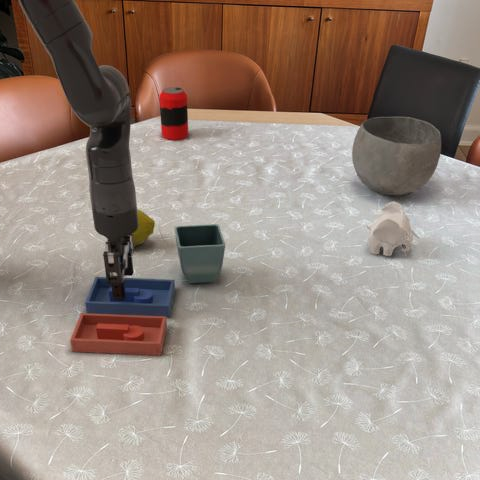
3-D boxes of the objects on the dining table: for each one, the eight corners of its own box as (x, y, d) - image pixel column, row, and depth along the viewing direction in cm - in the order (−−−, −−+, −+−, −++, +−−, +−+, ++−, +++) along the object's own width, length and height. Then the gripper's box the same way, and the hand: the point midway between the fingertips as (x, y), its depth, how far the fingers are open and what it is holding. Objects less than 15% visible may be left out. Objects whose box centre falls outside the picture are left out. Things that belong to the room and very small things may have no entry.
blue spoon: (109, 304, 121) (107, 294, 119) (112, 294, 123) (111, 283, 122) (151, 306, 121) (151, 295, 119) (154, 295, 123) (153, 285, 122)
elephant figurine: (414, 265, 134) (423, 225, 128) (356, 256, 137) (362, 216, 131) (418, 244, 141) (427, 205, 135) (363, 236, 143) (370, 196, 137)
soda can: (193, 136, 186) (192, 90, 177) (174, 142, 182) (171, 96, 173) (175, 129, 189) (173, 84, 181) (156, 135, 185) (153, 90, 177)
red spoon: (96, 342, 112) (94, 331, 111) (100, 330, 115) (98, 319, 113) (142, 344, 112) (141, 333, 110) (145, 332, 115) (144, 321, 113)
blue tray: (86, 313, 119) (84, 302, 117) (97, 287, 126) (95, 276, 124) (169, 317, 119) (168, 306, 117) (175, 290, 125) (174, 279, 124)
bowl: (376, 214, 151) (387, 148, 141) (332, 180, 165) (339, 118, 154) (448, 200, 158) (463, 136, 147) (399, 168, 171) (411, 108, 161)
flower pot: (219, 264, 133) (218, 223, 127) (225, 287, 127) (225, 244, 121) (176, 267, 132) (173, 225, 126) (180, 290, 126) (178, 247, 119)
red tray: (72, 351, 111) (70, 340, 109) (82, 324, 117) (80, 312, 115) (161, 355, 110) (160, 343, 109) (167, 327, 116) (166, 316, 115)
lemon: (99, 249, 137) (94, 213, 131) (114, 233, 142) (110, 197, 137) (147, 257, 135) (144, 221, 129) (160, 240, 140) (158, 204, 135)
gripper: (100, 183, 114) (110, 266, 125) (82, 220, 104) (95, 307, 115) (142, 185, 114) (149, 268, 125) (129, 222, 104) (138, 309, 115)
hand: (123, 286), depth 120 cm, fingers open, 8 cm apart
